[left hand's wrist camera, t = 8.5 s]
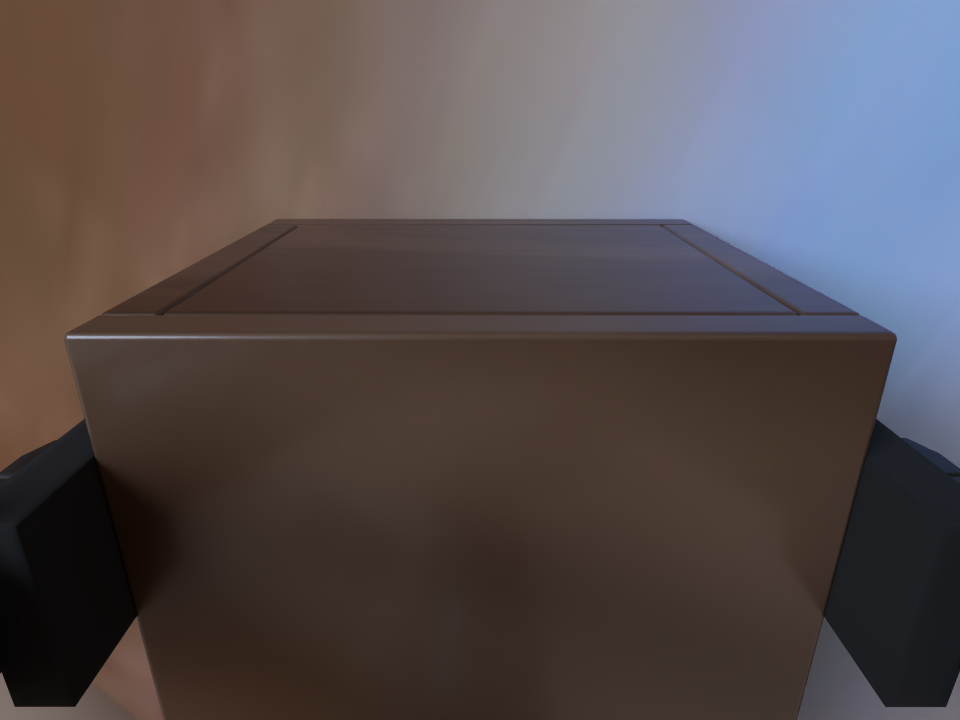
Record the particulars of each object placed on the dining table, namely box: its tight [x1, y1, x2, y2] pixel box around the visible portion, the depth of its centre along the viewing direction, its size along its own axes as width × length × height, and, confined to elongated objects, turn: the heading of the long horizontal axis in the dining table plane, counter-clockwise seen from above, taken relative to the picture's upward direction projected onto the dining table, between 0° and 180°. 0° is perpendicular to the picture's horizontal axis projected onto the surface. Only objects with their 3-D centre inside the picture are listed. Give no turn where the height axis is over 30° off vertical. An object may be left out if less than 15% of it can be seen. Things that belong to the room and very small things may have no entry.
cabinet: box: [64, 219, 897, 720], centre depth 15 cm, size 20×10×8 cm, turn 0°
